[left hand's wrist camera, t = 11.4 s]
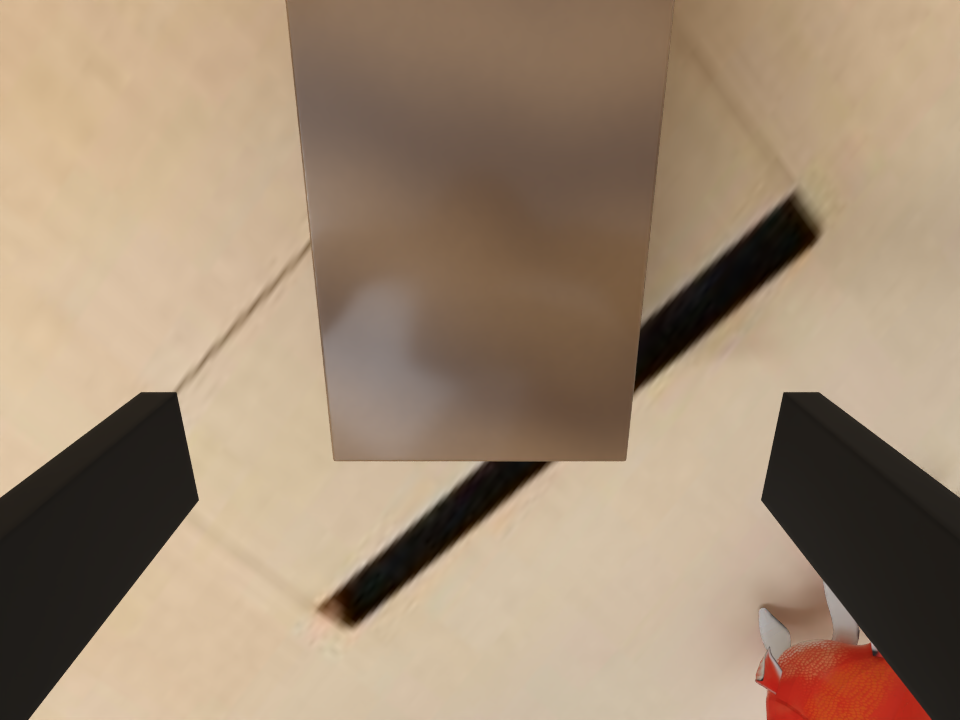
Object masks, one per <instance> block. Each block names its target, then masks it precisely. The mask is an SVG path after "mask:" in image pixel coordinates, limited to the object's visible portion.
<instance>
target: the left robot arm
mask: <svg viewBox="0 0 960 720" xmlns="http://www.w3.org/2000/svg"><path fill="white" fill-rule="evenodd" d="M198 501H199V498H198V494H197V489H196V484H195V479H194V474H193V469H192V465H191V460H190V455H189V450H188V445H187V441H186V436H185V431H184V426H183V421H182V417H181V412H180V407H179V402H178V397H177V393H176V392H141V393H139V394H138V395H137V396H135V397H134V398H133V399H131V400H130V401H129V402H127V403H126V404H125V405H123V406H122V407H121V408H119V409H118V410H117V411H115V412H114V413H113V414H111V415H110V416H109V417H107V418H106V419H105V420H103V421H102V422H101V423H99V424H98V425H97V426H95V427H94V428H93V429H91V430H90V431H89V432H87V433H86V434H85V435H83V436H82V437H81V438H79V439H78V440H77V441H75V442H74V443H73V444H71V445H70V446H69V447H67V448H66V449H65V450H63V451H62V452H61V453H59V454H58V455H57V456H55V457H54V458H53V459H51V460H50V461H49V462H47V463H46V464H45V465H43V466H42V467H41V468H39V469H38V470H37V471H35V472H34V473H33V474H31V475H30V476H29V477H27V478H26V479H25V480H23V481H22V482H21V483H19V484H18V485H17V486H15V487H14V488H13V489H11V490H10V491H9V492H7V493H6V494H5V495H3V496H2V497H1V498H0V720H28V719H29V718H30V717H31V716H32V714H33V713H34V712H35V710H36V709H37V708H38V707H39V705H40V704H41V703H42V701H43V700H44V699H45V698H46V696H47V695H48V694H49V692H50V691H51V690H52V689H53V687H54V686H55V685H56V683H57V682H58V681H59V680H60V678H61V677H62V676H63V674H64V673H65V672H66V671H67V669H68V668H69V667H70V665H71V664H72V663H73V662H74V660H75V659H76V658H77V656H78V655H79V654H80V653H81V651H82V650H83V649H84V647H85V646H86V645H87V644H88V642H89V641H90V640H91V638H92V637H93V636H94V635H95V633H96V632H97V631H98V629H99V628H100V627H101V626H102V624H103V623H104V622H105V620H106V619H107V618H108V616H109V615H110V614H111V613H112V611H113V610H114V609H115V607H116V606H117V605H118V604H119V602H120V601H121V600H122V598H123V597H124V596H125V595H126V593H127V592H128V591H129V589H130V588H131V587H132V586H133V584H134V583H135V582H136V580H137V579H138V578H139V577H140V575H141V574H142V573H143V571H144V570H145V569H146V568H147V566H148V565H149V564H150V562H151V561H152V560H153V559H154V557H155V556H156V555H157V553H158V552H159V551H160V550H161V548H162V547H163V546H164V544H165V543H166V542H167V541H168V539H169V538H170V537H171V535H172V534H173V533H174V532H175V530H176V529H177V528H178V526H179V525H180V524H181V523H182V521H183V520H184V519H185V517H186V516H187V515H188V513H189V512H190V511H191V510H192V508H193V507H194V506H195V504H196V503H197V502H198ZM761 501H762V502H763V503H764V504H765V506H766V507H767V508H768V510H769V511H770V512H771V513H772V515H773V516H774V517H775V519H776V520H777V521H778V523H779V524H780V525H781V526H782V528H783V529H784V530H785V532H786V533H787V534H788V535H789V537H790V538H791V539H792V541H793V542H794V543H795V544H796V546H797V547H798V548H799V550H800V551H801V552H802V553H803V555H804V556H805V557H806V559H807V560H808V561H809V562H810V564H811V565H812V566H813V568H814V569H815V570H816V571H817V573H818V574H819V575H820V577H821V578H822V579H823V580H824V582H825V583H826V584H827V586H828V587H829V588H830V589H831V591H832V592H833V593H834V595H835V596H836V597H837V598H838V600H839V601H840V602H841V604H842V605H843V606H844V607H845V609H846V610H847V611H848V613H849V614H850V615H851V616H852V618H853V619H854V620H855V622H856V623H857V624H858V626H859V627H860V628H861V629H862V631H863V632H864V633H865V635H866V636H867V637H868V638H869V640H870V641H871V642H872V644H873V645H874V646H875V647H876V649H877V650H878V651H879V653H880V654H881V655H882V656H883V658H884V659H885V660H886V662H887V663H888V664H889V665H890V667H891V668H892V669H893V671H894V672H895V673H896V674H897V676H898V677H899V678H900V680H901V681H902V682H903V683H904V685H905V686H906V687H907V689H908V690H909V691H910V692H911V694H912V695H913V696H914V698H915V699H916V700H917V701H918V703H919V704H920V705H921V707H922V708H923V709H924V710H925V712H926V713H927V714H928V716H929V717H930V718H931V719H932V720H960V498H959V497H958V496H957V495H955V494H954V493H953V492H951V491H950V490H949V489H947V488H946V487H945V486H943V485H942V484H941V483H939V482H938V481H937V480H935V479H934V478H933V477H931V476H930V475H929V474H927V473H926V472H925V471H923V470H922V469H921V468H919V467H918V466H917V465H915V464H914V463H913V462H911V461H910V460H909V459H907V458H906V457H905V456H903V455H902V454H901V453H899V452H898V451H897V450H895V449H894V448H893V447H891V446H890V445H889V444H887V443H886V442H885V441H883V440H882V439H881V438H879V437H878V436H877V435H875V434H874V433H873V432H871V431H870V430H869V429H867V428H866V427H865V426H863V425H862V424H861V423H859V422H858V421H857V420H855V419H854V418H853V417H851V416H850V415H849V414H847V413H846V412H845V411H843V410H842V409H841V408H839V407H838V406H837V405H835V404H834V403H833V402H831V401H830V400H829V399H827V398H826V397H825V396H823V395H822V394H821V393H819V392H784V393H783V397H782V402H781V407H780V412H779V417H778V421H777V426H776V431H775V436H774V441H773V445H772V450H771V455H770V460H769V465H768V469H767V474H766V479H765V484H764V489H763V494H762V498H761Z"/></svg>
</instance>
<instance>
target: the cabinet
mask: <svg viewBox="0 0 960 720" xmlns="http://www.w3.org/2000/svg"><path fill="white" fill-rule="evenodd" d="M674 1H675V0H286V9H287V19H288V28H289V38H290V48H291V57H292V67H293V76H294V86H295V96H296V105H297V115H298V125H299V134H300V144H301V153H302V163H303V173H304V182H305V192H306V201H307V211H308V221H309V230H310V240H311V250H312V259H313V269H314V278H315V288H316V298H317V307H318V317H319V326H320V336H321V346H322V355H323V365H324V374H325V384H326V394H327V403H328V413H329V423H330V432H331V442H332V451H333V459H334V461H626V457H627V447H628V438H629V428H630V419H631V409H632V400H633V391H634V381H635V372H636V362H637V353H638V343H639V334H640V324H641V315H642V305H643V296H644V286H645V277H646V267H647V258H648V248H649V239H650V229H651V220H652V210H653V201H654V191H655V182H656V172H657V163H658V153H659V144H660V134H661V125H662V115H663V106H664V96H665V87H666V77H667V68H668V58H669V49H670V39H671V30H672V20H673V11H674Z"/></svg>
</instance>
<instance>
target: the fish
mask: <svg viewBox="0 0 960 720" xmlns="http://www.w3.org/2000/svg"><path fill="white" fill-rule="evenodd" d="M823 584H824V591H825V596H826V600H827V604H828V607H829V611H830V614H831V618H832V623H833V638H832V640H810V641H805V642H801V643H798V644H796V645H794V646H791V638H790V633H789V631H788V630H787V628H786V627H785V626H784V625H783V624H782V623H780V622H779V621H778V620H777V619H776V618H775V617H774V616H773V615H772V614H771V613H770V612H769V611H768V610H767V609H766V608H761V609H760V610H759V626H760V634H761V638H762V641H763V644H764V646H765V648H766V650H767V652H766V654H765V656H764V657H763V659H762V660H761V662H760V665H759V668H758V670H757V673H756V680H755V681H756V683H758V684H759V685H761V686H763V687H765V688H766V689H767V698H766V711H767V720H932V719H931V718H930V717H929V716H928V714H927V713H926V712H925V710H924V709H923V708H922V707H921V705H920V704H919V703H918V701H917V700H916V699H915V698H914V696H913V695H912V694H911V692H910V691H909V690H908V689H907V687H906V686H905V685H904V683H903V682H902V681H901V680H900V678H899V677H898V676H897V674H896V673H895V672H894V671H893V669H892V668H891V667H890V665H889V664H888V663H887V662H886V660H885V659H884V658H883V656H882V655H881V654H880V653H879V651H878V650H877V649H876V647H875V646H874V645H873V644H872V642H871V643H869V644H865V645H857V643H858V639H859V627H858V624H857V623H856V622H855V620H854V619H853V618H852V616H851V615H850V614H849V613H848V611H847V610H846V609H845V607H844V606H843V605H842V604H841V602H840V601H839V600H838V598H837V597H836V596H835V595H834V593H833V592H832V591H831V589H830V588H829V587H828V586H827V584H826V583H825V582H824V580H823Z"/></svg>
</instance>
